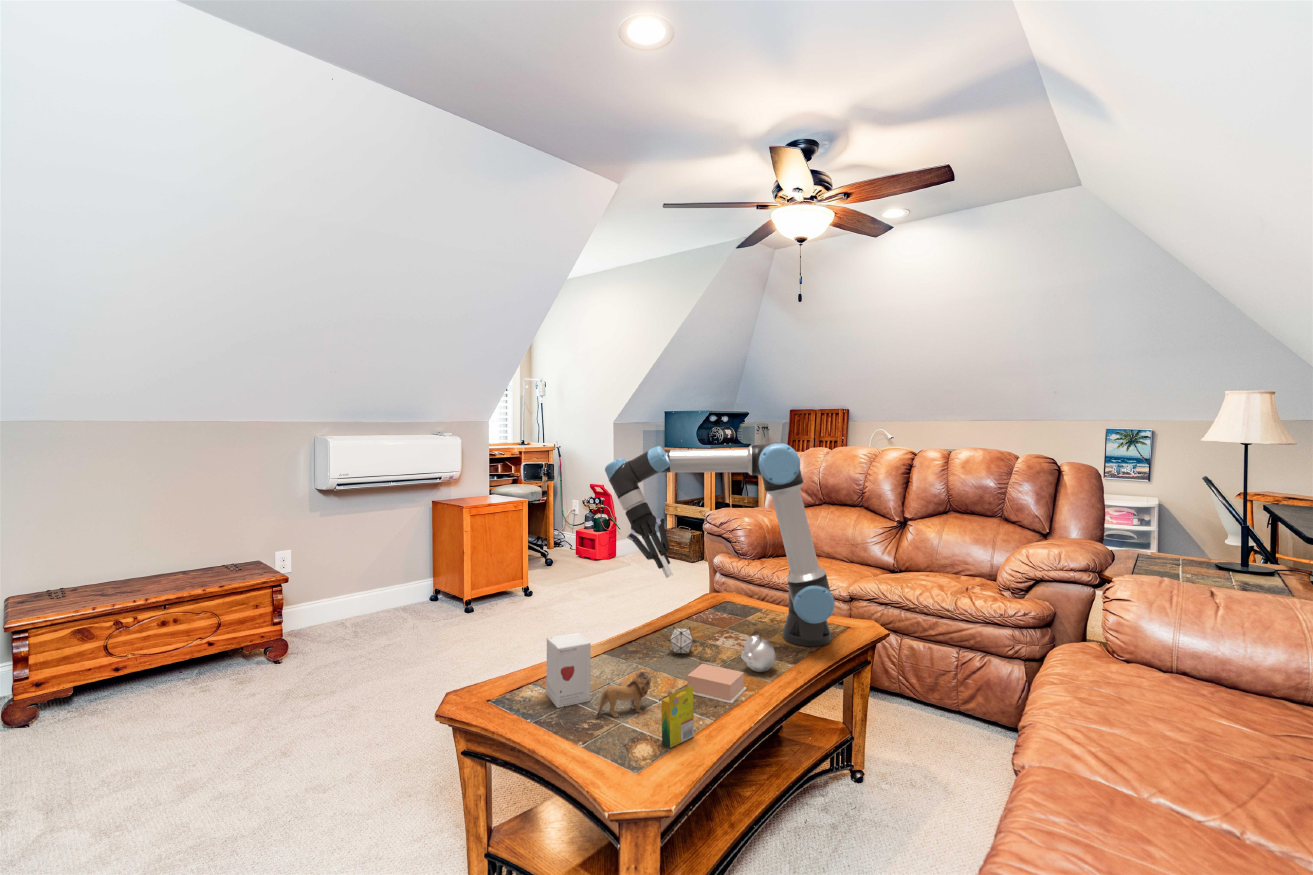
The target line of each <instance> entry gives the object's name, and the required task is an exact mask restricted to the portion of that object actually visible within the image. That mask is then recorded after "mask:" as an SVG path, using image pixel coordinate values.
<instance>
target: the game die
mask: <svg viewBox="0 0 1313 875" xmlns="http://www.w3.org/2000/svg"><path fill="white" fill-rule="evenodd" d="M672 627H673V631H672V633H671V635H670V638H669V639H667V642H669V643H670V646H671V649H672V656H674V655H676V654H688V656H691V653H690V651H691V650H692V646H693V645H694V643H696V642H697V641H696V640H694V638H693V635H692V633H691V628H692V627H691V626H689V627H688V628H682V627H681V628H679V627H678V628H677V627H675V626H674V625H673V626H672Z"/></svg>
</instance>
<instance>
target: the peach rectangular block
mask: <svg viewBox="0 0 1313 875" xmlns="http://www.w3.org/2000/svg"><path fill="white" fill-rule="evenodd" d="M744 678H745V672H742V671H739V670H736V669H735V670H734V669H729V668H724V667H720V666H715V665H710V664H705V663H702V664H700V665H699V666H698V667H696V668H694V669H693V670H692V671H691V672H690V673H689V674H687V683H686V684H687V686H686V688H687V687H689V686H692V685H693V692H695V693H699V694H703V695H708V696H712V697H716V698H720V699H724V700H729V701H731V700H732V699H733V698H734V697H735V696H736V695H737V694H738V693H739V692H740V691H741V690H742V689H743V688H744V687H745V682H744V681H745V679H744Z"/></svg>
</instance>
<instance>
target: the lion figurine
mask: <svg viewBox="0 0 1313 875" xmlns="http://www.w3.org/2000/svg"><path fill="white" fill-rule="evenodd" d="M651 682H652V677H651V672H650V671H648V670H644V669H640V670H639V671H637V672H635V676H634V678H632V681H630V682H629V684H627V685H626V684H625V685H620V686H618V685H610V686H608V687H607V688H605V689H604V690H603V692H602V694H601V697H600V702H599V706H598V707H599V708H598V711H597V714H596V715H595V717H596V718H597V717H600V715H601V714H603V715H604V714H605V713H606V711H605V710H604V709H603V708H604V707H605V706H606V705H607V704H609V712H610V713H611V715H612V717H614V718H619V717H620V715H619V714H618V712H617V713H616V712H615V707H616V705H617V701H620V702H626V703H627V702H629V701H630V708H631V710H632V709H635V710H636V712H637V713H640V714H641V713H643V709H641V704H642V699H643V698H645V697H646V696H647V695H648V692H649V690H650V687H651Z"/></svg>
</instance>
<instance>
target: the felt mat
mask: <svg viewBox="0 0 1313 875" xmlns="http://www.w3.org/2000/svg"><path fill="white" fill-rule="evenodd" d="M745 691H747V687H746V686H744V688H743V689H742V690H741V691H740V692H739V693H738V694H737V695H736V696H735V697H734V698H733V699H732V700H731V701H729V700H724V699H720V698H716V697H712V696H708V695H703V694H699V693H695V692H693V696H694V695H695V696H699V697H703V698H707V699H711V700H716V701H719V702H723V703H728V704H733V703H734V702H735V701H736V700H737V699H738V698H739V697H740V696H741V695H742V694H743V693H744V692H745Z"/></svg>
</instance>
